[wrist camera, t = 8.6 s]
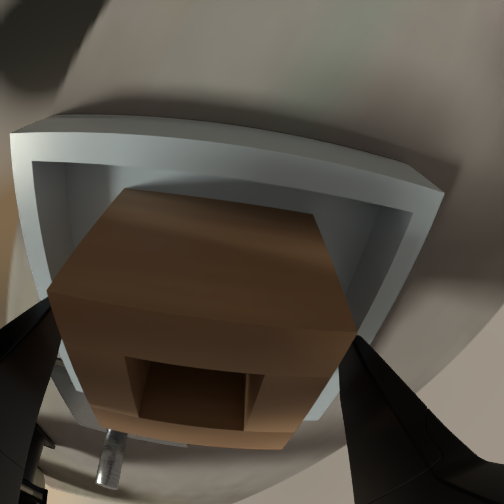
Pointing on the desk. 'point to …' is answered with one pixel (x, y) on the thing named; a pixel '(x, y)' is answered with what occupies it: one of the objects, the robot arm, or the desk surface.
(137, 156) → the tray
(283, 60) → the desk surface
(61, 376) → the grey peg stand
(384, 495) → the robot arm
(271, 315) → the wooden block with hole
